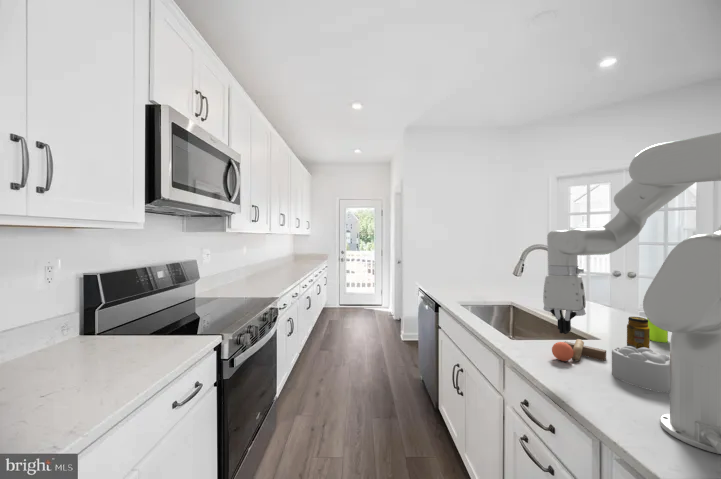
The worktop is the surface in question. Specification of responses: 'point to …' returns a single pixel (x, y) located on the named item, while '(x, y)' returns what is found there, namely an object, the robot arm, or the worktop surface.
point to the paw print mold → (642, 368)
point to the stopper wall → (591, 352)
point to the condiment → (638, 332)
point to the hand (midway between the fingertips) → (564, 332)
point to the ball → (562, 351)
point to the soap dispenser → (657, 333)
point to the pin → (577, 349)
